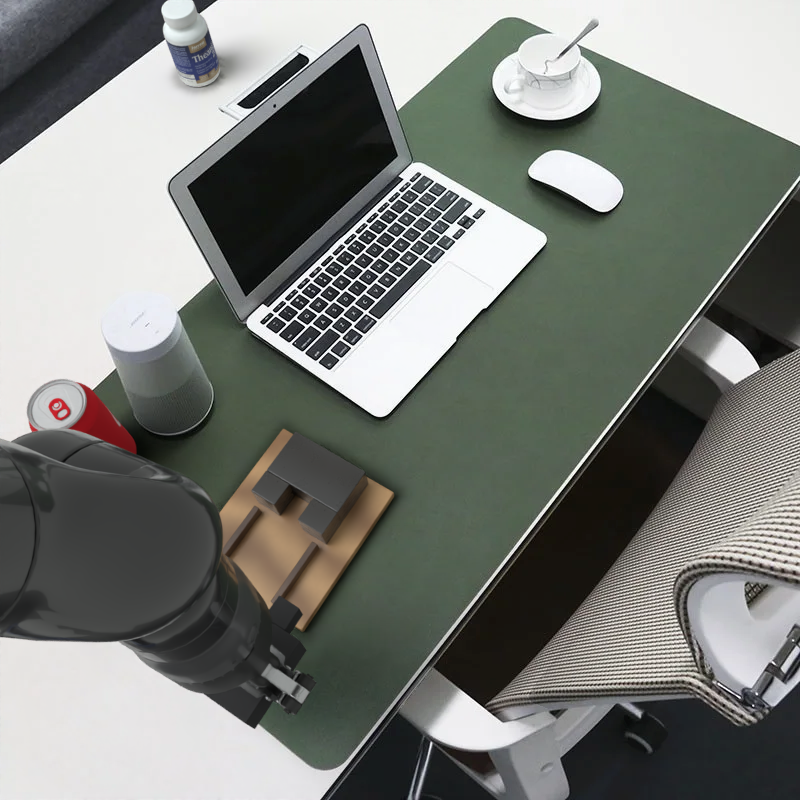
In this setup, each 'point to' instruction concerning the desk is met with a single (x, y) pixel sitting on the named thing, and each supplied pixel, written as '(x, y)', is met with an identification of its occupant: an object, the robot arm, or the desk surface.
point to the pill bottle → (189, 43)
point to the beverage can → (76, 412)
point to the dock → (293, 542)
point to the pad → (293, 649)
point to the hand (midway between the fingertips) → (254, 670)
